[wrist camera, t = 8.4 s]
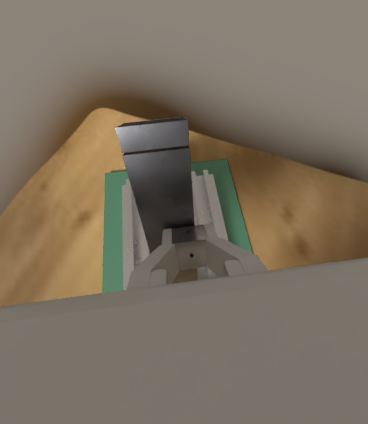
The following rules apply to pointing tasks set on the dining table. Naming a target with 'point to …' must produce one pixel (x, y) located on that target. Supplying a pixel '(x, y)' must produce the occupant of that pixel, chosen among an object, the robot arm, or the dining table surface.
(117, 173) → the circuit board
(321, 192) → the dining table surface
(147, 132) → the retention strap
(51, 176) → the dining table surface
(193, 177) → the heat sink
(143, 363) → the robot arm
